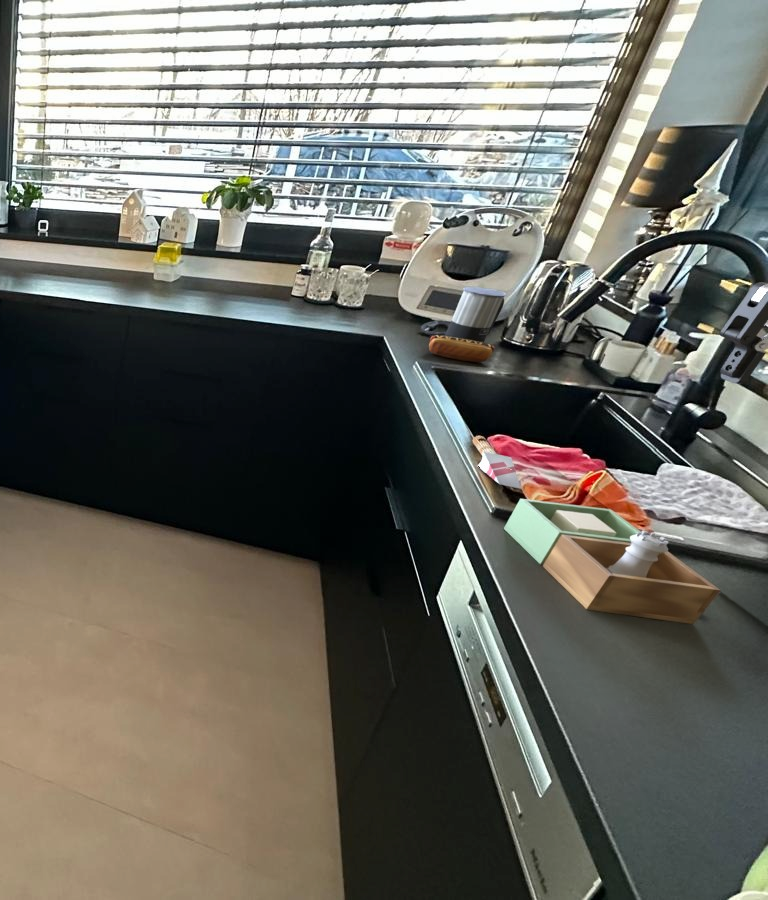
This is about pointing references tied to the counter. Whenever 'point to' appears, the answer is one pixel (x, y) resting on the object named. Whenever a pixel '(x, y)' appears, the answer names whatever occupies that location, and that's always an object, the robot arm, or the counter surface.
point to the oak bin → (628, 581)
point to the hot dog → (460, 348)
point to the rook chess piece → (640, 555)
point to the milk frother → (471, 315)
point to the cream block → (581, 523)
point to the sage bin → (542, 534)
